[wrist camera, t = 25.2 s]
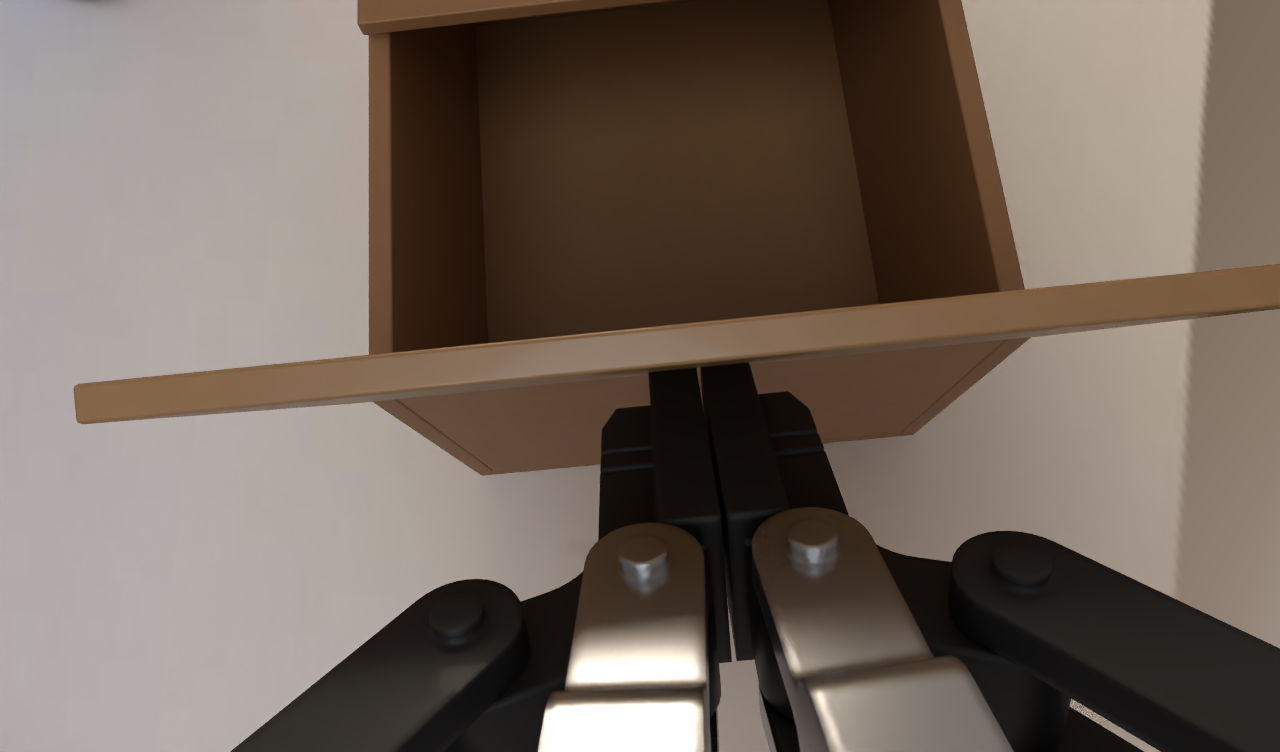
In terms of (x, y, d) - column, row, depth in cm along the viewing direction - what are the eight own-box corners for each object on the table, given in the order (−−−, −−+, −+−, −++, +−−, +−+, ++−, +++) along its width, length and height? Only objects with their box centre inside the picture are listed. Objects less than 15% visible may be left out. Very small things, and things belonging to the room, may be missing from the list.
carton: (914, 434, 26) (1053, 321, 16) (481, 475, 26) (352, 389, 16) (835, -16, 30) (905, -327, 20) (464, 25, 31) (355, -259, 21)
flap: (1046, 314, 16) (1048, 335, 16) (356, 381, 16) (358, 402, 16) (1411, 249, 8) (1416, 293, 8) (70, 385, 9) (75, 424, 9)
